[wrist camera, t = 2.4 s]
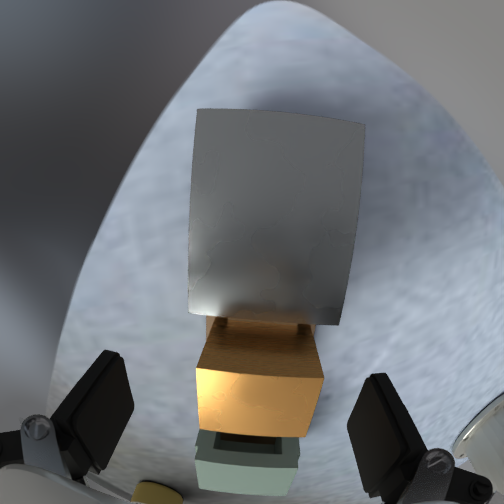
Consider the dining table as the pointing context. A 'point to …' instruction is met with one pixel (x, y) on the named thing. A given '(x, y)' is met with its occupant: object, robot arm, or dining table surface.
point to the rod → (258, 378)
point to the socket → (246, 465)
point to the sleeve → (273, 215)
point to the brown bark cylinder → (155, 494)
